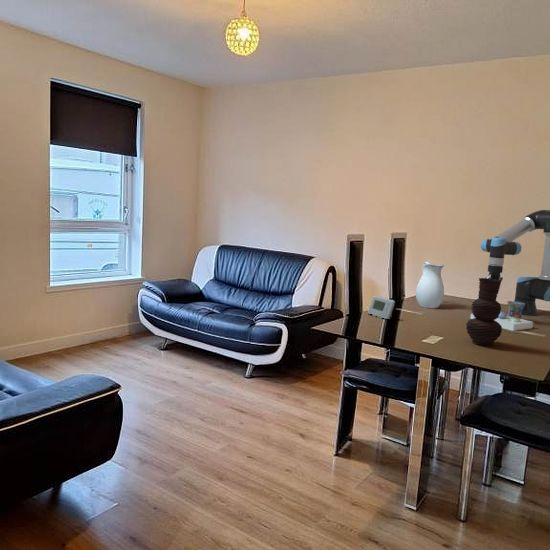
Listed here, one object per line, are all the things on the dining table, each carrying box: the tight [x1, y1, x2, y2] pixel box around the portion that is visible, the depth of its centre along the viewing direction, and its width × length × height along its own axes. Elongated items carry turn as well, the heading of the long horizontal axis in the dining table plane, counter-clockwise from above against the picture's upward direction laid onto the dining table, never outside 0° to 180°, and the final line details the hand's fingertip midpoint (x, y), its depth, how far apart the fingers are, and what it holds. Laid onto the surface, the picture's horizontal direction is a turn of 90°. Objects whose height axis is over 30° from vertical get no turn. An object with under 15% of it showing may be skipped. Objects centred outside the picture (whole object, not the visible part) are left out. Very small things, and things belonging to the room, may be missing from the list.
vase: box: [465, 277, 503, 346], centre depth 225 cm, size 15×15×30 cm
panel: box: [469, 313, 534, 332], centre depth 272 cm, size 18×26×4 cm
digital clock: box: [367, 295, 396, 320], centre depth 271 cm, size 16×9×11 cm, turn 22°
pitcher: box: [415, 261, 445, 309], centre depth 313 cm, size 24×17×28 cm
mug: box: [507, 300, 525, 319], centre depth 284 cm, size 12×9×11 cm
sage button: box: [510, 318, 520, 323], centre depth 266 cm, size 5×5×4 cm
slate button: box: [498, 311, 508, 319], centre depth 272 cm, size 5×5×4 cm
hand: (490, 306), depth 278 cm, fingers closed
